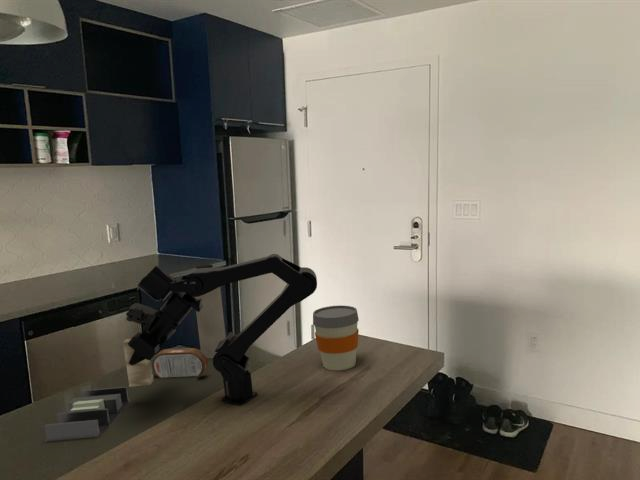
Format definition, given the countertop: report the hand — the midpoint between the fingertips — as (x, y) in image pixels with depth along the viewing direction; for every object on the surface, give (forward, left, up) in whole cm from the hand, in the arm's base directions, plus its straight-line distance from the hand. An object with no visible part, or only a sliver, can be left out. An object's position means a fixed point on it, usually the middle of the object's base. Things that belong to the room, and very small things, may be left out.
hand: (132, 362), depth 119 cm
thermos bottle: (+10, -34, -12) cm, 38 cm away
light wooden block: (-1, -1, -6) cm, 6 cm away
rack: (+3, +10, -11) cm, 16 cm away
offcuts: (+3, +11, -10) cm, 15 cm away
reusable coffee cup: (-31, -42, -12) cm, 54 cm away
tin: (+4, -16, -12) cm, 21 cm away
